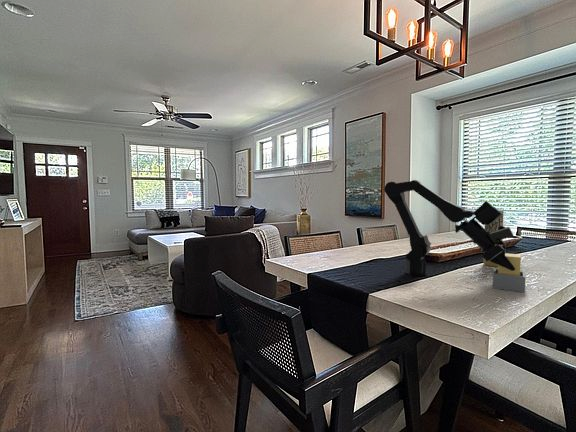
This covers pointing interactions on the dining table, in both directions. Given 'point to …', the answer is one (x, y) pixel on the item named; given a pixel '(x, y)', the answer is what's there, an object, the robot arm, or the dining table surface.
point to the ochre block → (515, 261)
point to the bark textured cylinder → (493, 228)
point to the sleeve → (509, 281)
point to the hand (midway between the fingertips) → (514, 268)
